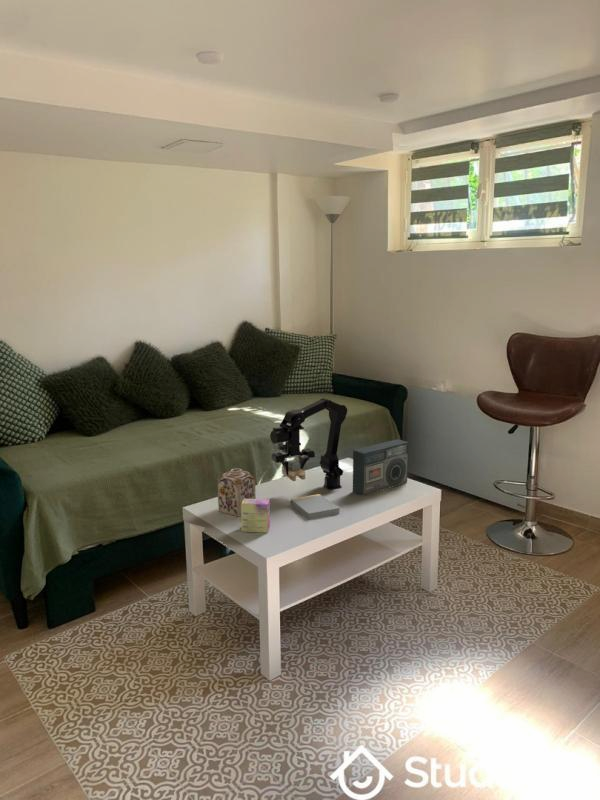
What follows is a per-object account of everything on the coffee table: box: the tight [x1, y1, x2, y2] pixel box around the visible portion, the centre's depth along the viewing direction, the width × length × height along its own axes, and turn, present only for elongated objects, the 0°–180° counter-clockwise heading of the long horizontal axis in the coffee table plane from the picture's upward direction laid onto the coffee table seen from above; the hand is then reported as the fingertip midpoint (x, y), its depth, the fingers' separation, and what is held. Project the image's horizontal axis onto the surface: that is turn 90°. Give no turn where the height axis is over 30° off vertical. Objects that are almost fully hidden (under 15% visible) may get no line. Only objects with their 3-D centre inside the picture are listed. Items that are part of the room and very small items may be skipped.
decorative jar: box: [217, 468, 257, 518], centre depth 255 cm, size 12×12×18 cm
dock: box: [290, 493, 340, 520], centre depth 257 cm, size 14×18×2 cm
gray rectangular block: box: [287, 459, 300, 471], centre depth 269 cm, size 4×6×3 cm, turn 25°
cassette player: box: [352, 438, 410, 497], centre depth 282 cm, size 29×7×20 cm, turn 128°
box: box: [240, 498, 271, 534], centre depth 236 cm, size 10×6×12 cm, turn 84°
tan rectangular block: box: [281, 465, 306, 482], centre depth 269 cm, size 6×12×4 cm, turn 25°
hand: (293, 473), depth 269 cm, fingers closed on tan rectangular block, 6 cm apart
